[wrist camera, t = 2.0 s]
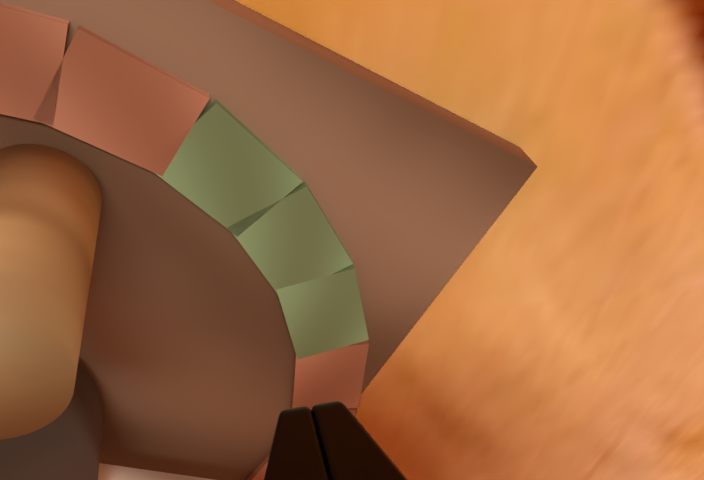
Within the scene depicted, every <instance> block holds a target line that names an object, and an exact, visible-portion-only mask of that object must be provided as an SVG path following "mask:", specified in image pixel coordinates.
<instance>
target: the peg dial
mask: <svg viewBox="0 0 704 480" xmlns="http://www.w3.org/2000/svg"><path fill="white" fill-rule="evenodd" d="M101 207H102V196H101V190H100V187H99V184H98V182H97V180H96V178H95V177H94V176H93V174H92V173H91V171H90V170H89V169H88V168H87V167H86V166H85V165H84V164H83V163H82V162H80V161H79V160H78V159H76V158H75V157H73V156H72V155H70V154H68V153H66V152H64V151H61V150H59V149H56V148H53V147H50V146H45V145H40V144H17V145H11V146H8V147H4V148H1V149H0V480H213V479H206V478H199V477H193V476H186V475H179V474H172V473H165V472H158V471H151V470H144V469H137V468H130V467H123V466H116V465H109V464H102V463H99V462H100V452H101V442H102V432H103V422H104V409H103V404H102V400H101V396H100V394H99V392H98V389H97V387H96V385H95V383H94V382H93V380H92V379H91V377H90V376H89V374H88V373H87V372H86V371H85V370H84V369H83V368H82V367H81V365H80V364H79V363H78V360H79V354H80V347H81V340H82V334H83V327H84V320H85V314H86V307H87V300H88V294H89V287H90V280H91V274H92V267H93V260H94V253H95V247H96V240H97V233H98V227H99V220H100V213H101Z"/></svg>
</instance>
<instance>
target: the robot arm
mask: <svg viewBox="0 0 704 480" xmlns="http://www.w3.org/2000/svg"><path fill="white" fill-rule="evenodd" d="M264 480H407V478H406V477H405V476H404V475H403V474H402V472H401V471H400V470H399V469H398V468H397V467H396V465H395V464H394V463H393V462H392V461H391V459H390V458H389V457H388V456H387V455H386V453H385V452H384V451H383V450H382V449H381V447H380V446H379V445H378V444H377V443H376V441H375V440H374V439H373V438H372V437H371V435H370V434H369V433H368V432H367V431H366V430H365V428H364V427H363V426H362V425H361V424H360V422H359V421H358V420H357V419H356V418H355V416H354V415H353V414H352V413H351V412H350V410H349V409H348V408H347V407H346V406H345V405H344V404H343V403H342V402H339V401H334V402H328V403H322V404H316V405H314V406H313V407H312V409H310V408H309V407H305V406H304V407H298V408H292V409H286V410H283V411H282V412H281V413H280V414H279V417H278V421H277V425H276V430H275V434H274V438H273V443H272V447H271V451H270V455H269V460H268V464H267V468H266V473H265V477H264Z"/></svg>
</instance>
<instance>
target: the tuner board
mask: <svg viewBox="0 0 704 480" xmlns="http://www.w3.org/2000/svg"><path fill="white" fill-rule="evenodd" d="M17 144H40V145H45V146H50V147H53V148H56V149H59V150H61V151H64V152H66V153H68V154H70V155H72V156H73V157H75V158H76V159H78V160H79V161H80V162H82V163H83V164H84V165H85V166H86V167H87V168H88V169H89V170H90V171H91V173H92V174H93V176H94V177H95V178H96V180H97V182H98V184H99V187H100V190H101V196H102V207H101V213H100V220H99V227H98V233H97V240H96V247H95V253H94V260H93V267H92V274H91V280H90V287H89V294H88V300H87V307H86V314H85V320H84V327H83V334H82V340H81V347H80V354H79V360H78V363H79V364H80V365H81V367H82V368H83V369H84V370H85V371H86V372H87V373H88V374H89V376H90V377H91V379H92V380H93V382H94V383H95V385H96V387H97V389H98V392H99V394H100V396H101V400H102V404H103V409H104V422H103V432H102V442H101V452H100V462H99V463H102V464H109V465H116V466H123V467H130V468H137V469H144V470H151V471H158V472H165V473H172V474H179V475H186V476H193V477H199V478H206V479H213V480H264V477H265V473H266V468H267V464H268V460H269V455H270V451H271V447H272V443H273V438H274V434H275V430H276V425H277V421H278V417H279V414H280V413H281V412H282V411H283V410H286V409H292V408H298V407H304V406H305V407H309V408H310V409H312V407H313V406H314V405H316V404H322V403H328V402H334V401H339V402H342V403H343V404H344V405H345V406H346V407H347V408H348V409H349V410H350V412H351V413H352V414H353V415H354V416H355V414H356V413H357V407H359V402H360V396H361V394H362V392H363V391H364V390H365V388H366V387H367V386H368V385H369V383H370V382H371V381H372V379H373V378H374V377H375V376H376V374H377V373H378V372H379V370H380V369H381V368H382V366H383V365H384V364H385V363H386V361H387V360H388V359H389V357H390V356H391V355H392V354H393V352H394V351H395V350H396V348H397V347H398V346H399V345H400V343H401V342H402V341H403V339H404V338H405V337H406V336H407V334H408V333H409V332H410V330H411V329H412V328H413V327H414V325H415V324H416V323H417V321H418V320H419V319H420V317H421V316H422V315H423V314H424V312H425V311H426V310H427V308H428V307H429V306H430V305H431V303H432V302H433V301H434V299H435V298H436V297H437V296H438V294H439V293H440V292H441V290H442V289H443V288H444V287H445V285H446V284H447V283H448V281H449V280H450V279H451V278H452V276H453V275H454V274H455V272H456V271H457V270H458V268H459V267H460V266H461V265H462V263H463V262H464V261H465V259H466V258H467V257H468V256H469V254H470V253H471V252H472V250H473V249H474V248H475V247H476V245H477V244H478V243H479V241H480V240H481V239H482V238H483V236H484V235H485V234H486V232H487V231H488V230H489V229H490V227H491V226H492V225H493V223H494V222H495V221H496V219H497V218H498V217H499V216H500V214H501V213H502V212H503V210H504V209H505V208H506V207H507V205H508V204H509V203H510V201H511V200H512V199H513V198H514V196H515V195H516V194H517V192H518V191H519V190H520V189H521V187H522V186H523V185H524V183H525V182H526V181H527V180H528V178H529V177H530V176H531V174H532V173H533V172H534V170H535V169H536V168H537V166H536V165H535V164H534V162H533V161H532V160H531V159H530V158H529V157H528V156H527V155H526V154H525V152H524V151H523V150H522V149H521V148H520V147H518V146H516V145H514V144H512V143H510V142H508V141H506V140H504V139H503V138H501V137H499V136H497V135H495V134H493V133H491V132H489V131H487V130H485V129H483V128H481V127H479V126H477V125H475V124H473V123H471V122H469V121H468V120H466V119H464V118H462V117H460V116H458V115H456V114H454V113H452V112H450V111H448V110H446V109H444V108H442V107H440V106H438V105H436V104H434V103H433V102H431V101H429V100H427V99H425V98H423V97H421V96H419V95H417V94H415V93H413V92H411V91H409V90H407V89H405V88H403V87H401V86H399V85H398V84H396V83H394V82H392V81H390V80H388V79H386V78H384V77H382V76H380V75H378V74H376V73H374V72H372V71H370V70H368V69H366V68H364V67H363V66H361V65H359V64H357V63H355V62H353V61H351V60H349V59H347V58H345V57H343V56H341V55H339V54H337V53H335V52H333V51H331V50H329V49H328V48H326V47H324V46H322V45H320V44H318V43H316V42H314V41H312V40H310V39H308V38H306V37H304V36H302V35H300V34H298V33H296V32H294V31H293V30H291V29H289V28H287V27H285V26H283V25H281V24H279V23H277V22H275V21H273V20H271V19H269V18H267V17H265V16H263V15H261V14H259V13H258V12H256V11H254V10H252V9H250V8H248V7H246V6H244V5H242V4H240V3H238V2H236V1H234V0H0V149H1V148H4V147H8V146H11V145H17Z"/></svg>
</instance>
